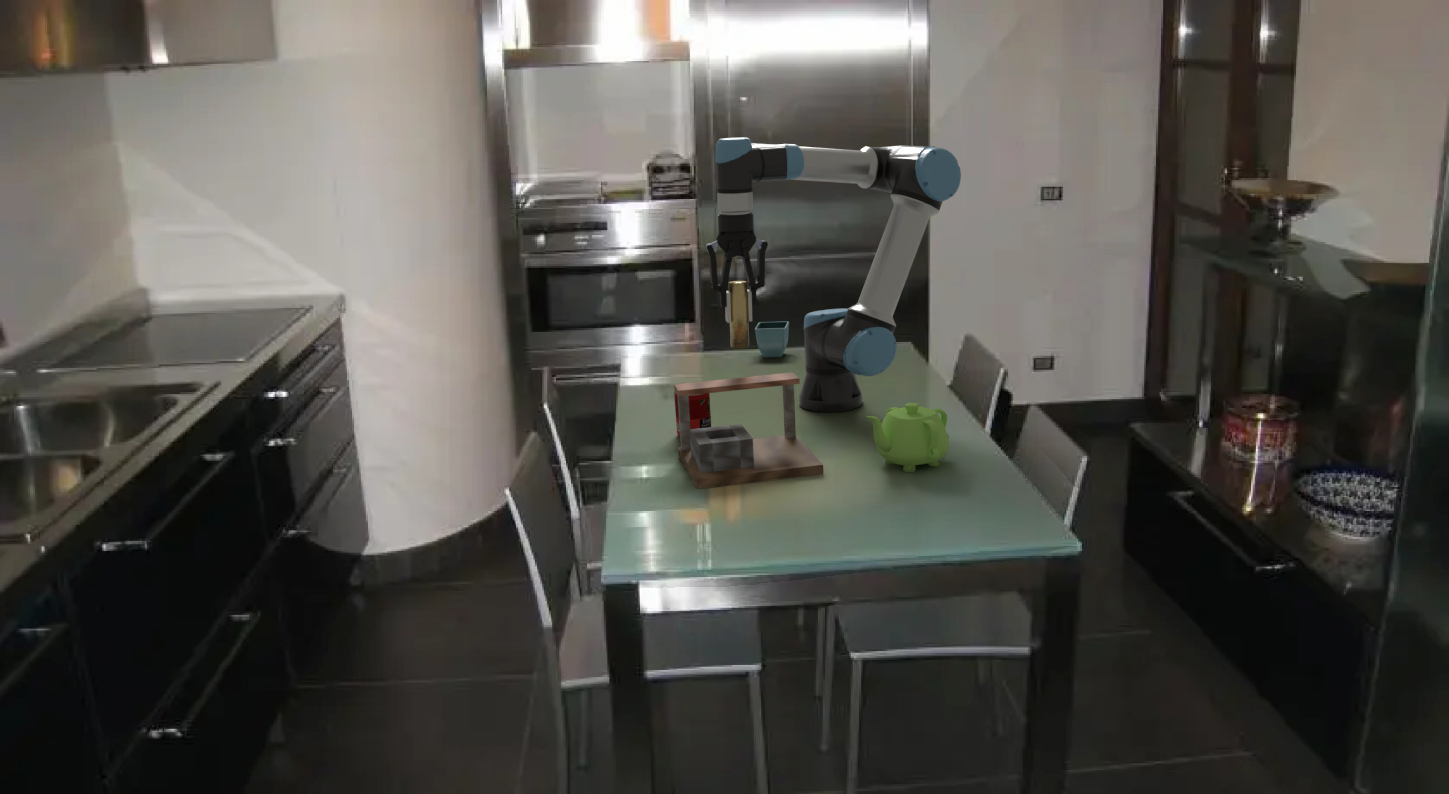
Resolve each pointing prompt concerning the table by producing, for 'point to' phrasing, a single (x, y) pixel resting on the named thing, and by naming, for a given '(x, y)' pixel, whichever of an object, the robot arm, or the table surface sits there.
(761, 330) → the flower pot
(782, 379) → the station
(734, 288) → the peg
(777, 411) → the table surface
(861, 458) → the table surface
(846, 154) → the robot arm
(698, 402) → the canned food
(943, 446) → the teapot
